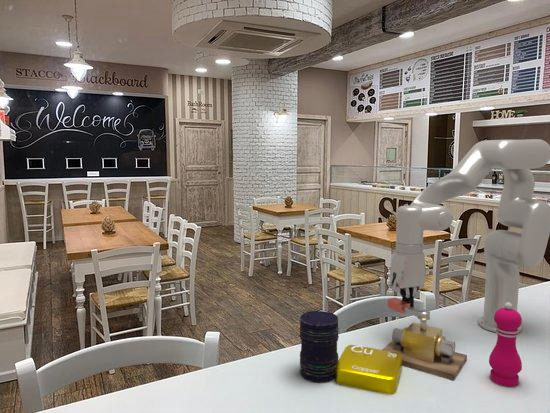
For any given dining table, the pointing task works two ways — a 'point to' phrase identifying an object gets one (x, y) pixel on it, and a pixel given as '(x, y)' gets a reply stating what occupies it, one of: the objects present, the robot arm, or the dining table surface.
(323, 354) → the black ridged cylinder
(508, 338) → the pepper mill
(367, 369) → the element tile
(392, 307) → the valve lever
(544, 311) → the dining table surface
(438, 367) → the valve board
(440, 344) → the ball valve
